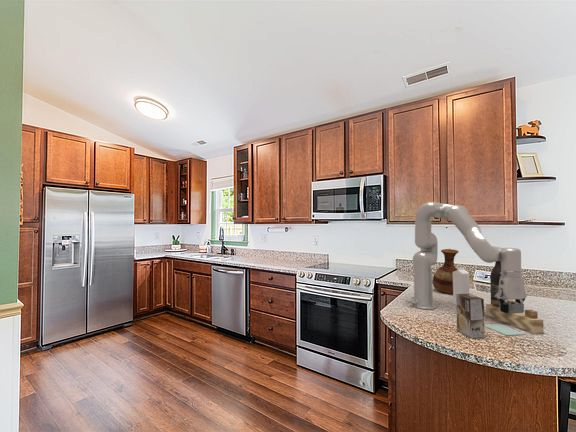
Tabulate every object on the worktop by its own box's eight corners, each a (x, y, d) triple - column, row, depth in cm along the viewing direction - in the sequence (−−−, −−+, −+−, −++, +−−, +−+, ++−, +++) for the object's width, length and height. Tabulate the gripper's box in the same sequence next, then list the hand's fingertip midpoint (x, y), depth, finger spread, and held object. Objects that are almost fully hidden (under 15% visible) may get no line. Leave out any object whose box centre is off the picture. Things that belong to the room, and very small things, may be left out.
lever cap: (523, 312, 130) (523, 302, 130) (510, 313, 129) (510, 303, 129) (511, 308, 136) (511, 299, 136) (499, 309, 135) (499, 299, 135)
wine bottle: (487, 312, 150) (486, 256, 151) (496, 310, 152) (495, 255, 153) (502, 316, 143) (501, 257, 144) (510, 314, 146) (509, 256, 147)
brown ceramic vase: (434, 293, 190) (433, 249, 191) (431, 287, 208) (430, 247, 209) (468, 296, 182) (467, 250, 183) (462, 290, 201) (461, 248, 202)
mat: (506, 335, 118) (506, 334, 118) (483, 325, 130) (483, 324, 130) (525, 334, 119) (525, 333, 119) (500, 324, 131) (500, 323, 131)
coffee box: (485, 338, 116) (485, 298, 116) (471, 338, 115) (470, 299, 116) (469, 329, 125) (468, 293, 125) (455, 330, 124) (455, 293, 125)
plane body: (544, 333, 120) (543, 312, 121) (533, 334, 120) (532, 313, 120) (495, 315, 144) (495, 298, 144) (486, 316, 143) (485, 298, 144)
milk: (469, 305, 162) (469, 267, 163) (462, 307, 160) (462, 268, 160) (459, 303, 168) (459, 266, 168) (452, 304, 165) (452, 266, 166)
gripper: (501, 275, 128) (502, 315, 127) (534, 275, 130) (535, 313, 130) (487, 273, 135) (488, 310, 135) (519, 272, 138) (519, 309, 137)
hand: (511, 311), depth 132 cm, fingers closed on lever cap, 7 cm apart
